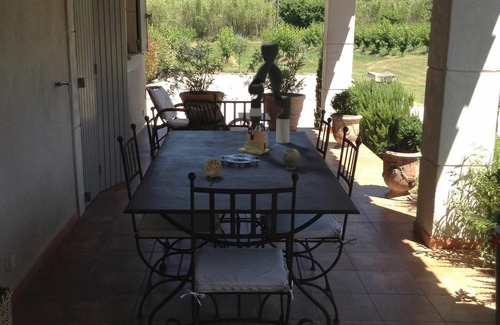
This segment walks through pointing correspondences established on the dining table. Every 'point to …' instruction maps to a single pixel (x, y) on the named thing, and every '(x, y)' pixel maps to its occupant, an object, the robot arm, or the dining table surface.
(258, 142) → the tall salmon pink block
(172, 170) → the dining table surface
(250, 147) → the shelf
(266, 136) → the ink box
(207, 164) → the pine cone
